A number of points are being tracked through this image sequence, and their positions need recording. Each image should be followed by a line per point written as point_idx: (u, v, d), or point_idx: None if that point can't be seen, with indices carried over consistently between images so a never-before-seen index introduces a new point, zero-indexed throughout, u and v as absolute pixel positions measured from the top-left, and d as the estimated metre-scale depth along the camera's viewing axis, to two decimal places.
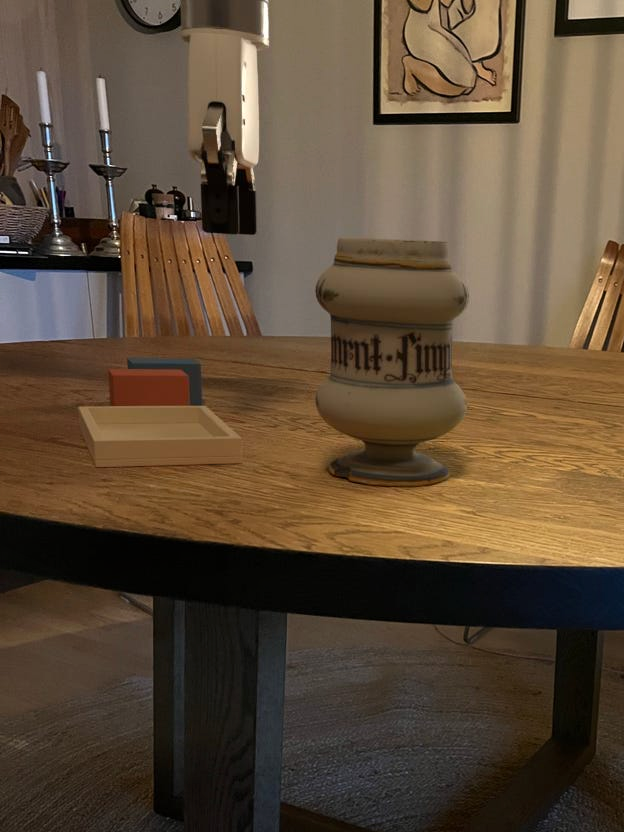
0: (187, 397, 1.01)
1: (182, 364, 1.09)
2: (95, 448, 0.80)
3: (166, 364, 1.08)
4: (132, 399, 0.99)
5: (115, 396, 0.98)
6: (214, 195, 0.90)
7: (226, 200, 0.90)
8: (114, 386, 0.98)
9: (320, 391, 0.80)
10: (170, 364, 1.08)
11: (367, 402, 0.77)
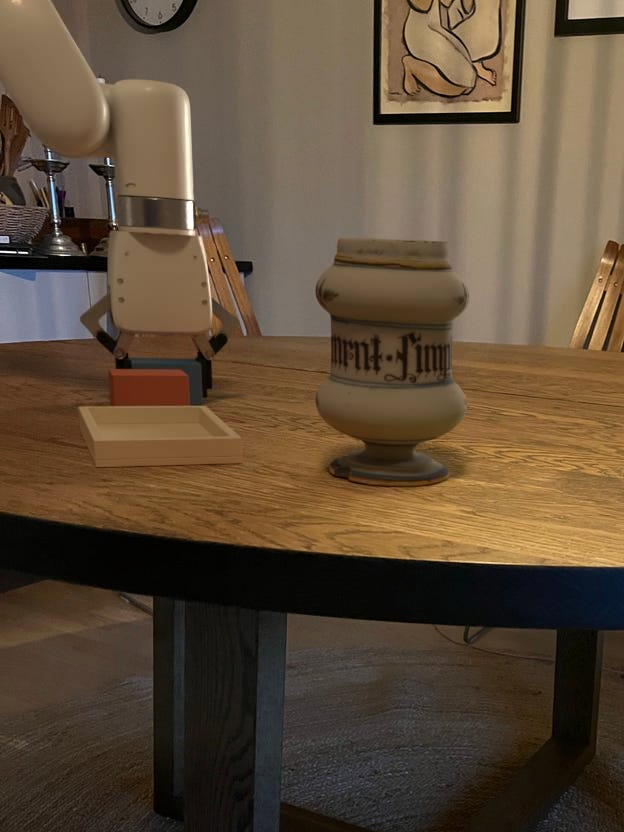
0: (187, 397, 1.01)
1: (182, 364, 1.09)
2: (95, 448, 0.80)
3: (166, 364, 1.08)
4: (132, 399, 0.99)
5: (115, 396, 0.98)
6: (116, 365, 1.08)
7: None
8: (114, 386, 0.98)
9: (320, 391, 0.80)
10: (170, 364, 1.08)
11: (367, 402, 0.77)
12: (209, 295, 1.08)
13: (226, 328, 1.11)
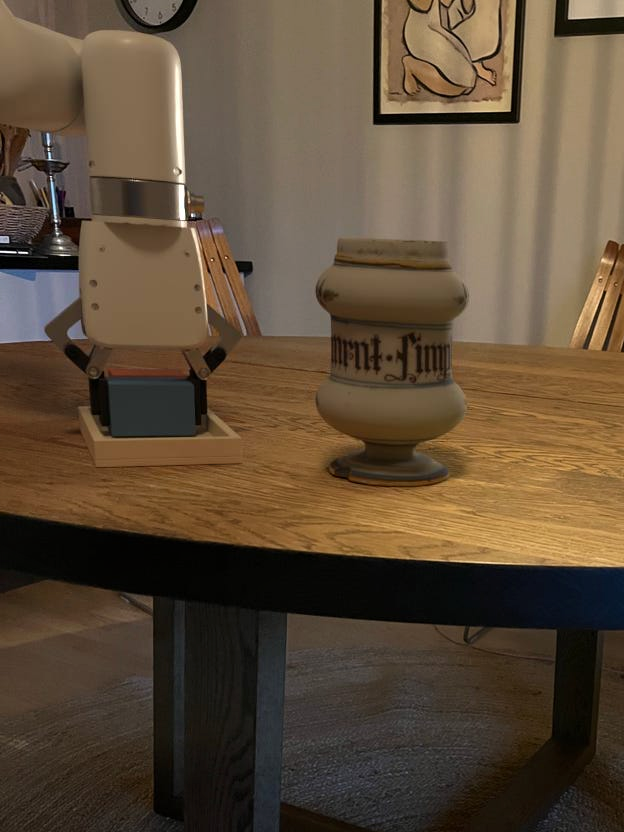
0: None
1: (171, 385, 0.89)
2: (95, 448, 0.80)
3: (151, 385, 0.88)
4: None
5: None
6: (89, 386, 0.88)
7: (90, 392, 0.88)
8: None
9: (320, 391, 0.80)
10: (156, 385, 0.88)
11: (367, 402, 0.77)
12: (204, 301, 0.88)
13: (225, 341, 0.91)
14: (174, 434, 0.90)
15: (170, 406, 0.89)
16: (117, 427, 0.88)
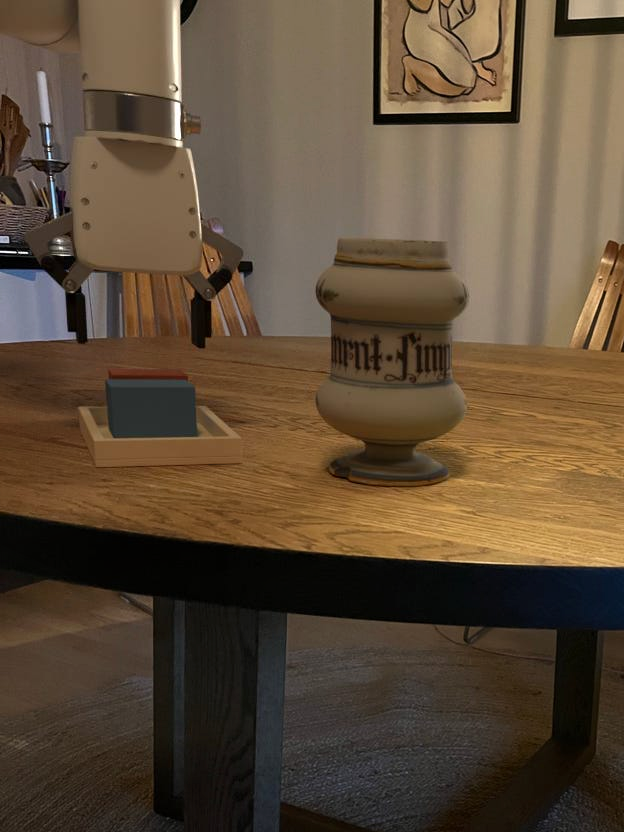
0: None
1: (172, 388, 0.89)
2: (95, 448, 0.80)
3: (152, 388, 0.88)
4: None
5: None
6: (66, 302, 0.86)
7: (67, 307, 0.85)
8: None
9: (320, 391, 0.80)
10: (157, 388, 0.88)
11: (367, 402, 0.77)
12: (199, 225, 0.85)
13: (228, 260, 0.89)
14: (176, 436, 0.90)
15: (172, 409, 0.89)
16: (119, 430, 0.88)
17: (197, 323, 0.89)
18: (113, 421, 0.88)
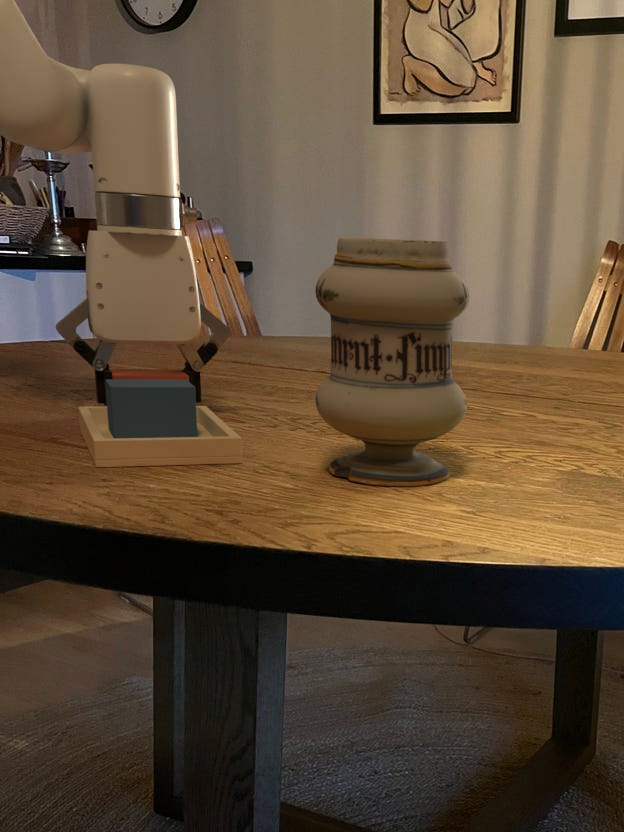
0: None
1: (172, 388, 0.89)
2: (95, 448, 0.80)
3: (152, 388, 0.88)
4: None
5: None
6: (95, 377, 0.99)
7: (96, 383, 0.99)
8: None
9: (320, 391, 0.80)
10: (157, 388, 0.88)
11: (367, 402, 0.77)
12: (197, 301, 0.98)
13: (216, 337, 1.02)
14: (176, 436, 0.90)
15: (172, 409, 0.89)
16: (119, 430, 0.88)
17: None
18: (113, 421, 0.88)
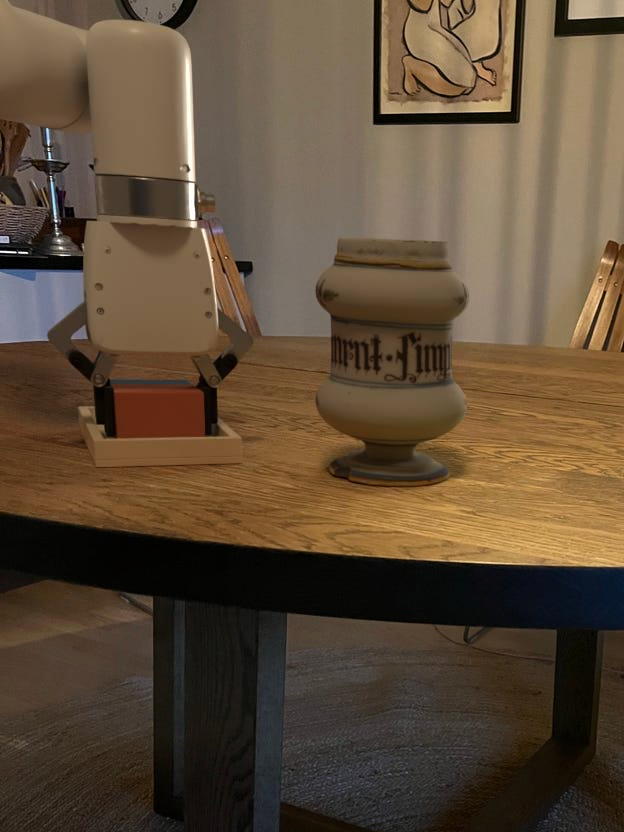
0: (202, 418, 0.86)
1: None
2: (95, 448, 0.80)
3: None
4: (137, 420, 0.84)
5: (117, 417, 0.83)
6: (94, 394, 0.84)
7: (95, 401, 0.84)
8: (116, 405, 0.83)
9: (320, 391, 0.80)
10: None
11: (367, 402, 0.77)
12: (215, 305, 0.83)
13: (236, 347, 0.87)
14: None
15: None
16: None
17: None
18: None
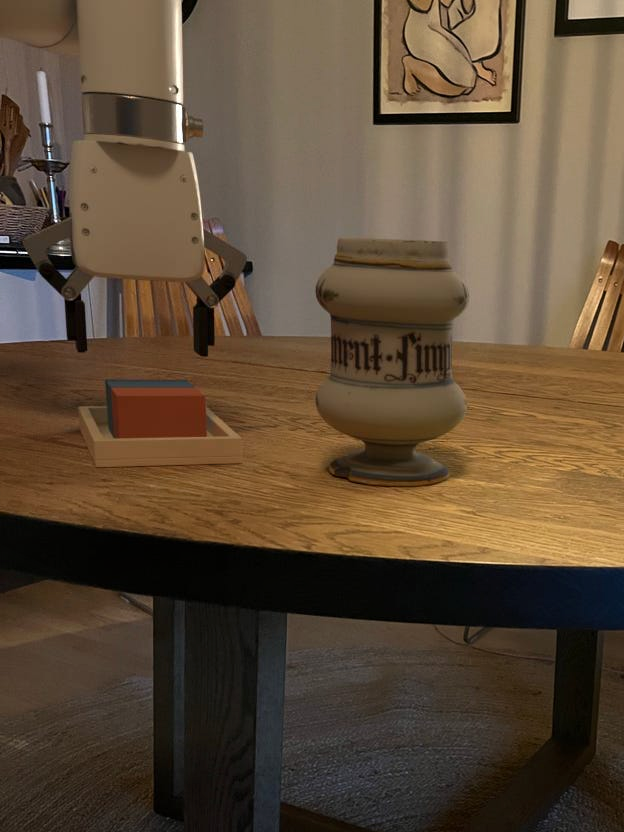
0: (204, 421, 0.86)
1: None
2: (95, 448, 0.80)
3: None
4: (139, 423, 0.84)
5: (119, 420, 0.83)
6: (65, 309, 0.84)
7: (66, 315, 0.83)
8: (118, 408, 0.83)
9: (320, 391, 0.80)
10: None
11: (367, 402, 0.77)
12: (201, 231, 0.83)
13: (231, 266, 0.86)
14: None
15: None
16: None
17: (199, 331, 0.87)
18: None
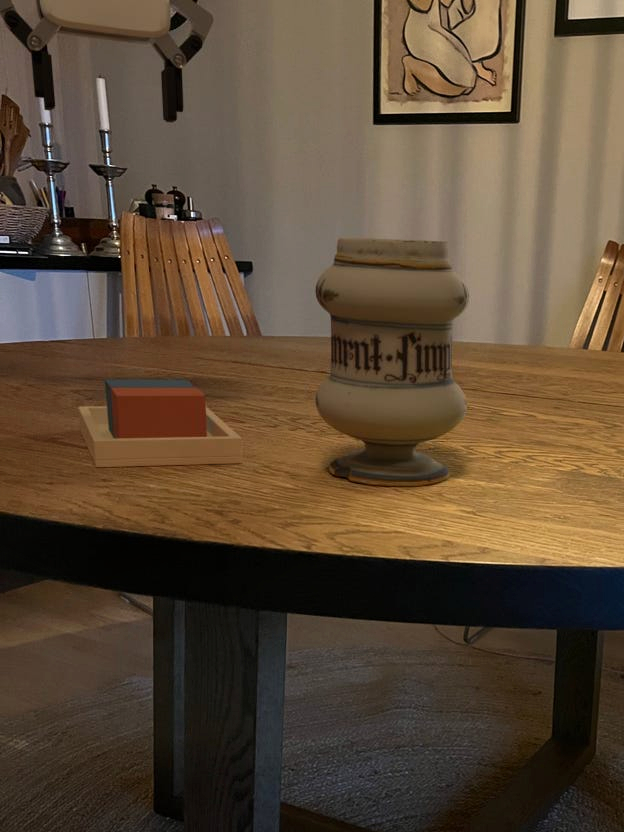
0: (204, 421, 0.86)
1: None
2: (95, 448, 0.80)
3: None
4: (139, 423, 0.84)
5: (119, 420, 0.83)
6: (32, 65, 0.84)
7: (33, 68, 0.83)
8: (118, 408, 0.83)
9: (320, 391, 0.80)
10: None
11: (367, 402, 0.77)
12: None
13: (197, 26, 0.87)
14: None
15: None
16: None
17: (168, 91, 0.87)
18: None
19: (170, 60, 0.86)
